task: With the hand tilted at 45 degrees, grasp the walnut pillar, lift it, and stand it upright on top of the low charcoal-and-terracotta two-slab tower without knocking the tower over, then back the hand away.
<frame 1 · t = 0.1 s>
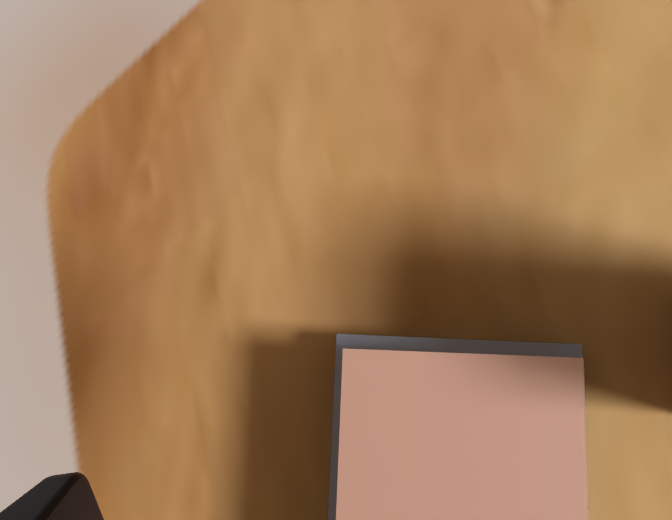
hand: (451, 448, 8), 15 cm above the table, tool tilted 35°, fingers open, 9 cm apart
terracotta top slab: (453, 466, 20), point 2 cm above the table, touching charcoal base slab
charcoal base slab: (449, 456, 22), on the table, touching terracotta top slab
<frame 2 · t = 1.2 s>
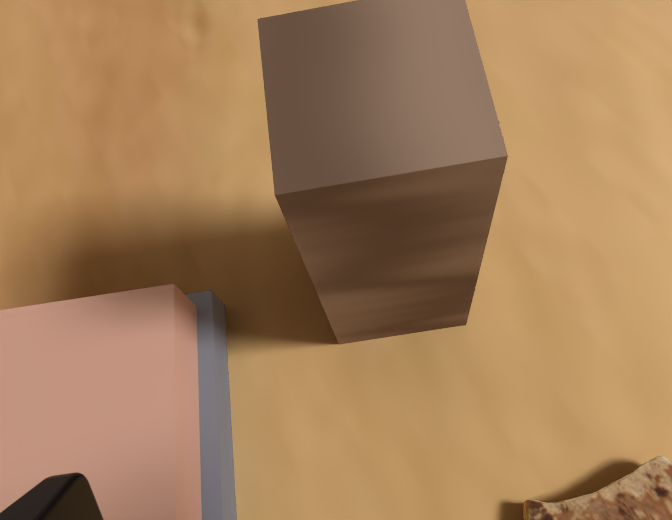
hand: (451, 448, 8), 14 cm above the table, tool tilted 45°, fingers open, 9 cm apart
walnut pillar: (391, 275, 23), on the table
terracotta top slab: (94, 422, 21), point 2 cm above the table, touching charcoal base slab
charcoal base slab: (125, 432, 23), on the table, touching terracotta top slab
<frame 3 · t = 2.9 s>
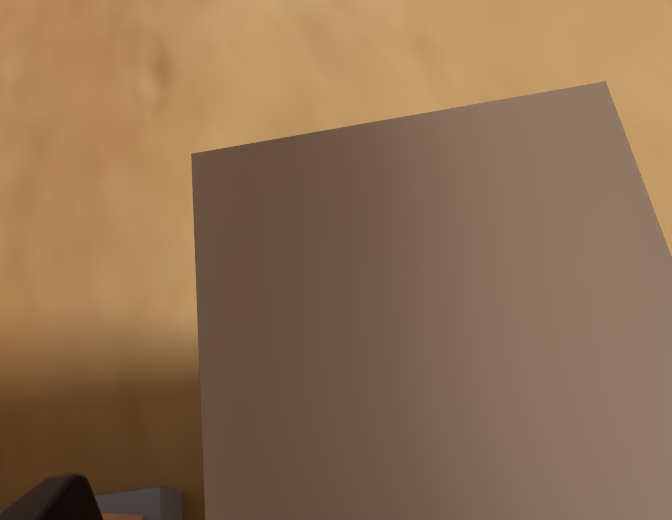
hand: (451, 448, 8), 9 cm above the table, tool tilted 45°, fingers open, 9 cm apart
walnut pillar: (423, 451, 16), on the table
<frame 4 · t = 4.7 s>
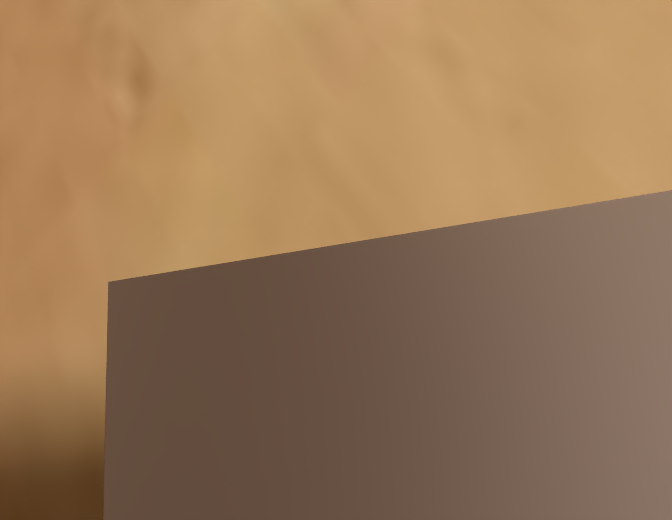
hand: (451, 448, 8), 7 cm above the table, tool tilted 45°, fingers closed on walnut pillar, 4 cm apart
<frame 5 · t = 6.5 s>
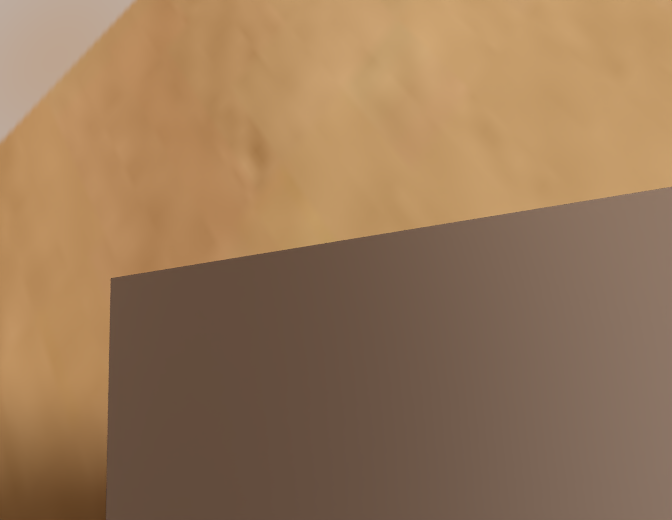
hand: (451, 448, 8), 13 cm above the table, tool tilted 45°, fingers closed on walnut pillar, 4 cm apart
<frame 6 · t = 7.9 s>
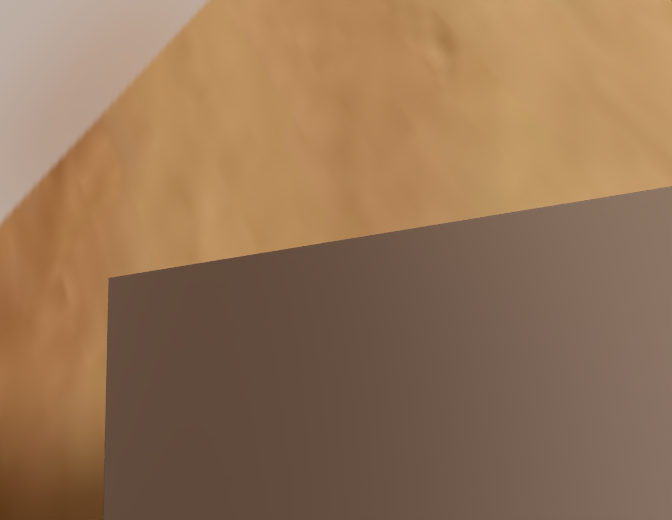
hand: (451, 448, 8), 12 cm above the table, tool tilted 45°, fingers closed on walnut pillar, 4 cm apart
when the fingers open (12 cm above the table, at t = 8.8 s): walnut pillar drops 2 cm, resting on terracotta top slab.
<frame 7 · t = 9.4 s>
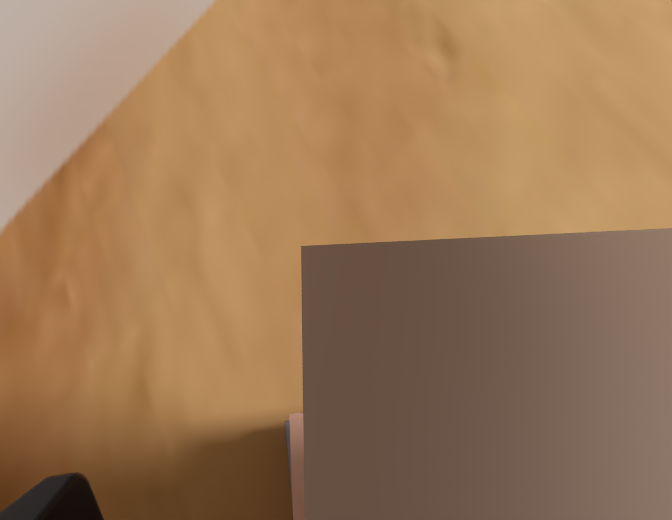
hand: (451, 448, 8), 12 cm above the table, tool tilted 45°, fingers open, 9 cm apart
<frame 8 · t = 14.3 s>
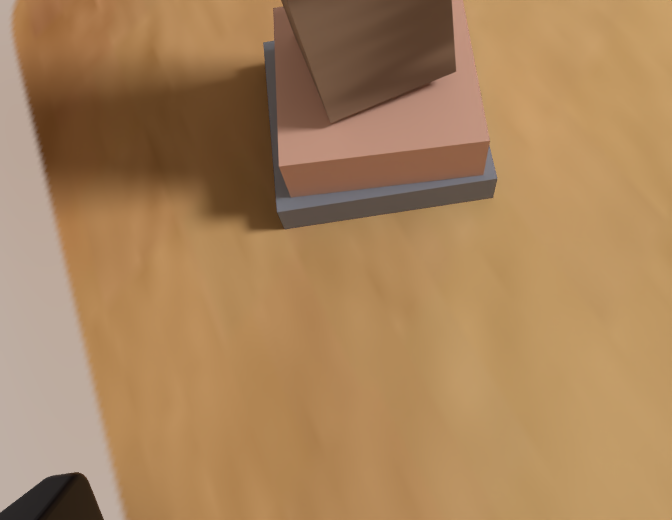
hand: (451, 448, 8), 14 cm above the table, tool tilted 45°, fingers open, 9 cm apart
walnut pillar: (370, 51, 22), point 4 cm above the table, tilted 6°
terracotta top slab: (377, 107, 24), point 1 cm above the table, touching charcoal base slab
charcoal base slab: (374, 137, 26), on the table, touching terracotta top slab
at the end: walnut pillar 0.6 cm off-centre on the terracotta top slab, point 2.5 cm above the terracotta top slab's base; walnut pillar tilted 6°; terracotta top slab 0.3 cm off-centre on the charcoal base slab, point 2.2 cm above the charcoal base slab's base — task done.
